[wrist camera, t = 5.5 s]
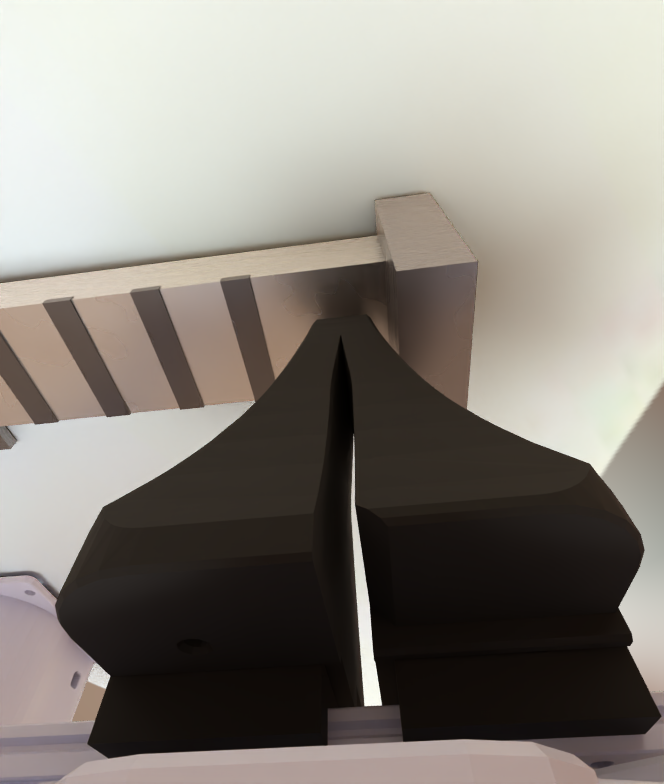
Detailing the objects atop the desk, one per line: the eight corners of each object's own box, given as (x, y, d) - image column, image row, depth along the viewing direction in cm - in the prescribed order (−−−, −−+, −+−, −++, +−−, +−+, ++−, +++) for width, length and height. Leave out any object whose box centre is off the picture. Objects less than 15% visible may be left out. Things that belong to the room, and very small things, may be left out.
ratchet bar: (428, 362, 14) (462, 468, 11) (-123, 421, 16) (-258, 532, 12) (429, 192, 11) (477, 261, 8) (-259, 284, 13) (-496, 378, 9)
